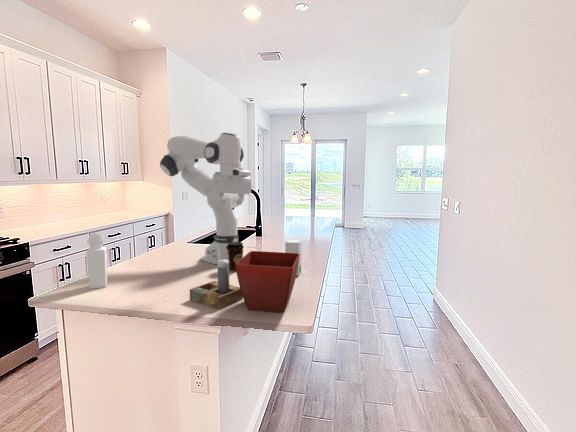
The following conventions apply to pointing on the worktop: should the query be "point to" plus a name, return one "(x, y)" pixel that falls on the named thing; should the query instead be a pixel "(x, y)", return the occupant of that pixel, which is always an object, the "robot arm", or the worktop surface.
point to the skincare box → (294, 251)
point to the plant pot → (267, 279)
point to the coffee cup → (234, 254)
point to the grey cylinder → (223, 276)
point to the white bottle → (96, 261)
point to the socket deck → (215, 295)
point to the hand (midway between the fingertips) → (231, 204)
